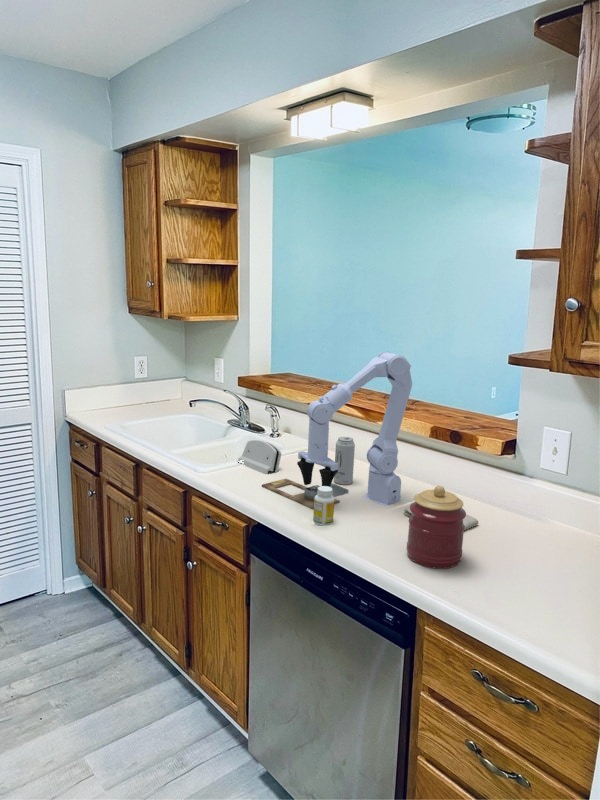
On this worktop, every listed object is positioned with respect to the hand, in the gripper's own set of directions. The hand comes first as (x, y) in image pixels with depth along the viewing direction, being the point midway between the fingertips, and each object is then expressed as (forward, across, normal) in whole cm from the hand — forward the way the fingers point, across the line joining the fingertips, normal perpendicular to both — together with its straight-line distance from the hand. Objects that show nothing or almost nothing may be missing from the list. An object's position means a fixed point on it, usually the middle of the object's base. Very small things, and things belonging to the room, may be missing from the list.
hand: (316, 488), depth 169 cm
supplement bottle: (+5, +11, -8) cm, 15 cm away
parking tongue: (+5, -3, +9) cm, 11 cm away
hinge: (+5, -37, +8) cm, 38 cm away
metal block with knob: (+3, 0, 0) cm, 3 cm away
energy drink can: (+5, -7, +19) cm, 21 cm away
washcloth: (+6, +30, +19) cm, 36 cm away
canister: (+5, +42, -1) cm, 42 cm away
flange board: (+5, -7, 0) cm, 8 cm away
